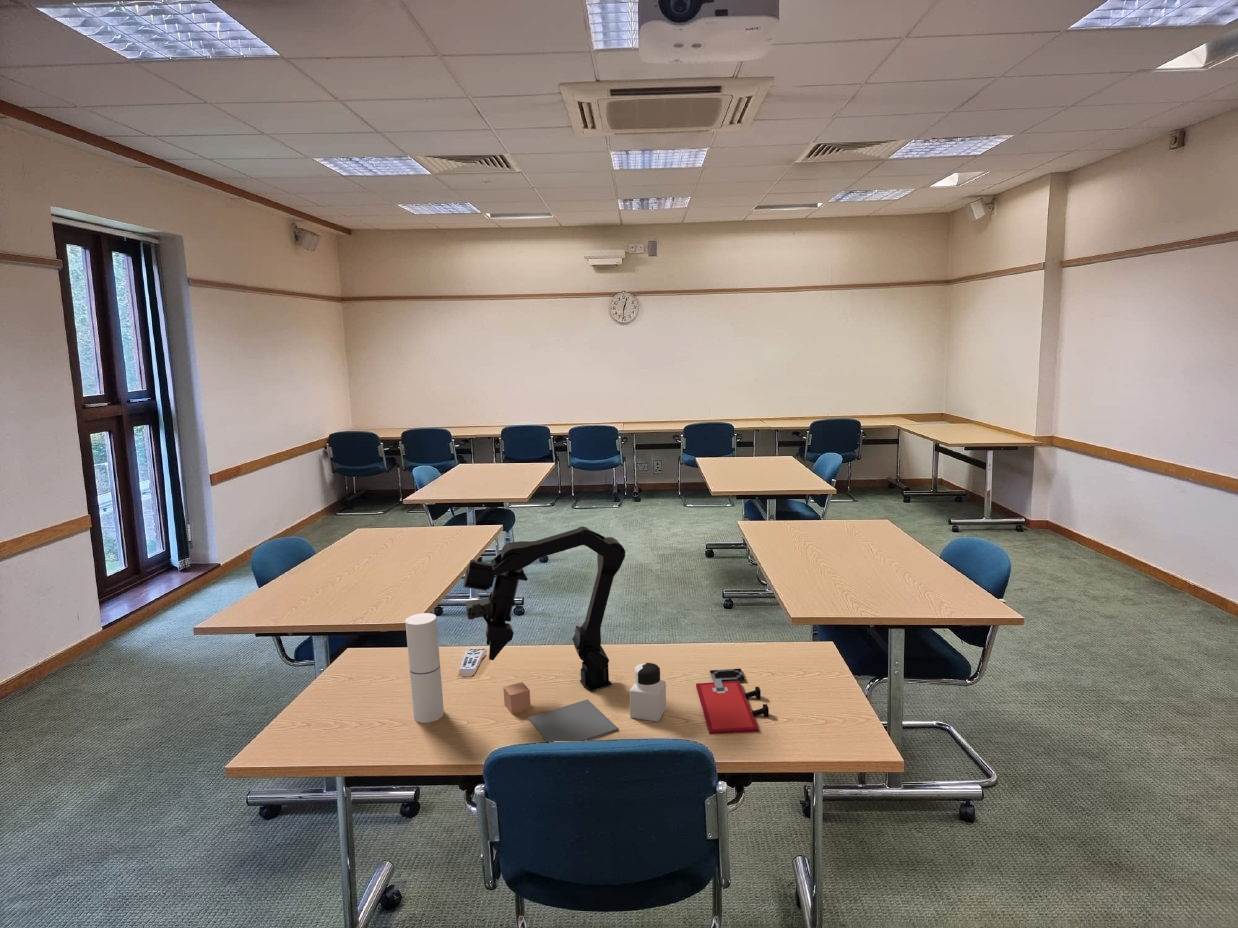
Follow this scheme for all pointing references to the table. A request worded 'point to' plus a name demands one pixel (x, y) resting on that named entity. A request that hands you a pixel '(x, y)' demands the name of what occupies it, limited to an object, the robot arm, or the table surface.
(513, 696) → the terracotta cube
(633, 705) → the medicine bottle
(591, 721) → the gray mat
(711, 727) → the red board with handle
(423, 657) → the cylindrical container
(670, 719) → the table surface
